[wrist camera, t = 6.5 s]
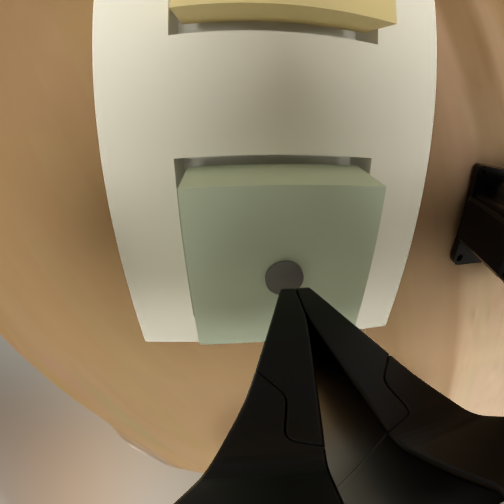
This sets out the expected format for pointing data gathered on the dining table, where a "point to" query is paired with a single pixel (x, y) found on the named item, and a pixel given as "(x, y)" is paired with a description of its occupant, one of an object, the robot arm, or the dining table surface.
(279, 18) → the tile
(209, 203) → the tile
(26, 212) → the dining table surface
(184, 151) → the rail
